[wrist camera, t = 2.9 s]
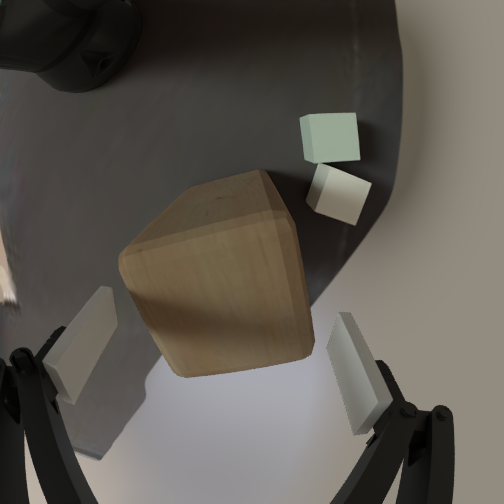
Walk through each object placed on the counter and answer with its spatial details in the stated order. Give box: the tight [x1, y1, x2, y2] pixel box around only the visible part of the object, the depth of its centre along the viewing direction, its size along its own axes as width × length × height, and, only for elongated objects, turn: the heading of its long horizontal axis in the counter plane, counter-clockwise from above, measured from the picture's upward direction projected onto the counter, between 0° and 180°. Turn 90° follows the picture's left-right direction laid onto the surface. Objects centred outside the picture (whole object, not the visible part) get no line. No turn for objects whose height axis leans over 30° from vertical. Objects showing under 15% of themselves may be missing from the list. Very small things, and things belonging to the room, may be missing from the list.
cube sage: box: [300, 113, 360, 163], centre depth 27 cm, size 5×5×5 cm
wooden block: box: [118, 169, 315, 378], centre depth 24 cm, size 10×10×20 cm
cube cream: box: [305, 163, 372, 225], centre depth 30 cm, size 5×5×5 cm
